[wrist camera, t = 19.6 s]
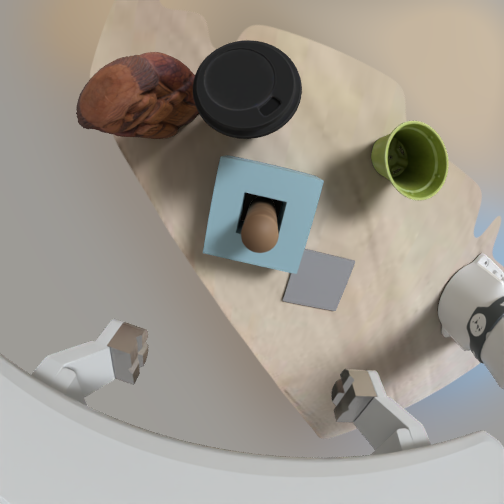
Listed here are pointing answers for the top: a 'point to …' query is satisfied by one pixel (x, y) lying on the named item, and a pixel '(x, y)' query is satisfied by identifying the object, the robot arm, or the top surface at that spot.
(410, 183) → the plant pot
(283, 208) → the socket
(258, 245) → the peg
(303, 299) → the pad
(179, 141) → the top surface
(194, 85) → the coffee cup
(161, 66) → the wooden figurine
